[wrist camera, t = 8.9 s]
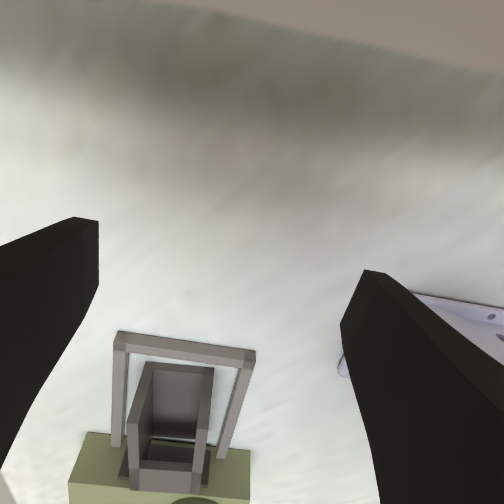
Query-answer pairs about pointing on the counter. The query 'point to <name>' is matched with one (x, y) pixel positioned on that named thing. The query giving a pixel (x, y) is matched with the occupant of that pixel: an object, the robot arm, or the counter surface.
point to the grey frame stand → (116, 449)
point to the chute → (169, 425)
